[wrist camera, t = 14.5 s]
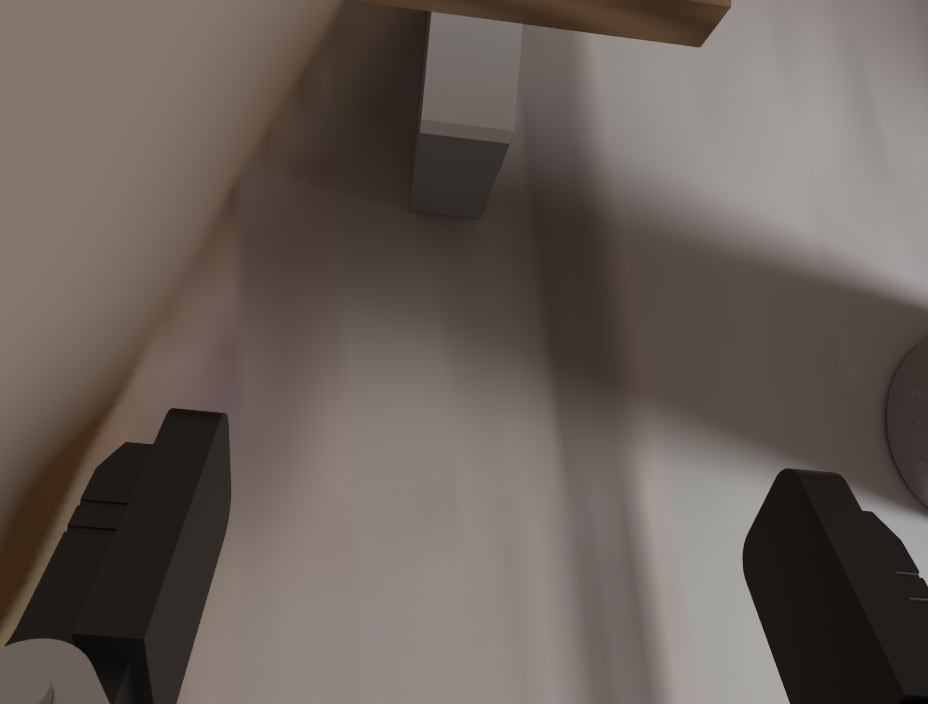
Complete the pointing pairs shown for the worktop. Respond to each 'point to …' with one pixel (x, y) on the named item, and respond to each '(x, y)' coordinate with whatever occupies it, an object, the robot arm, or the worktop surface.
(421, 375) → the worktop surface
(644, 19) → the beam
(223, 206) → the worktop surface
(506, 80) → the block
